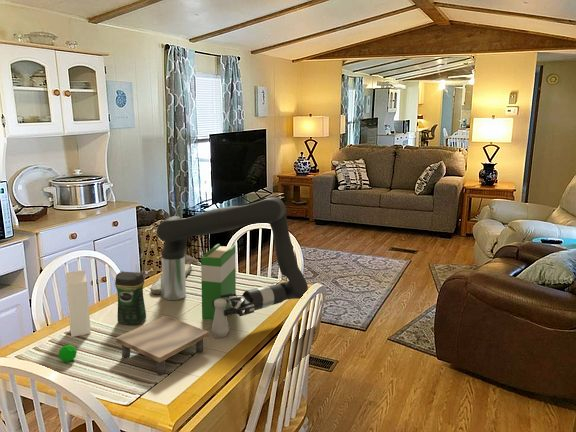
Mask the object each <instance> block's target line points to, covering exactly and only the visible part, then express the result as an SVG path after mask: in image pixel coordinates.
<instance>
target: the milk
mask: <svg viewBox="0 0 576 432" xmlns="http://www.w3.org/2000/svg"><path fill="white" fill-rule="evenodd" d="M87 280H88V279H87V275H86V270H85V269H81V270H76V271H75V270H74V271H67V272H65V285H66V297H67V308H68V309H67V311H68V318H69V320H68V321H69V330H70V331H69V332H70V334H71V338H74V337H78V336H79V337H80V336H83V335H90V334H91V333H92V332H91V320H90V306H89V305H90V304H89V294H88V293H89V291H88V281H87Z"/></svg>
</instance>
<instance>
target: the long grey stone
mask: <svg viewBox="0 0 576 432" xmlns="http://www.w3.org/2000/svg"><path fill="white" fill-rule="evenodd" d="M192 269H193V266H192V265H191V264H189V263H185V277H186V276H188V274H190V272H191V271H192ZM150 293H151V294H152V295H161V275H160V276H159V277H157V279H156V280H155V281H154V282H153V283H152V284H151V286H150Z"/></svg>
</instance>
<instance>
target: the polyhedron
mask: <svg viewBox="0 0 576 432" xmlns="http://www.w3.org/2000/svg"><path fill="white" fill-rule="evenodd" d="M76 356H77V349H76V347H75V346H74V345H71V344H66V345H63V346H62V347H60V348H59V351H58V358H59V359H60V361H62V362H64V363H68V362H72V361H73V360H74V359H75V358H76Z"/></svg>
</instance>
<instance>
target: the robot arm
mask: <svg viewBox="0 0 576 432" xmlns="http://www.w3.org/2000/svg"><path fill="white" fill-rule="evenodd" d="M265 223H267V224H269V226H270V228H271V230H272V234H273V242H274V249H275V250H274V251H275V257H276V261H277V264H278V268H279V272H280V273H281V275H282V276H284V277H286V278H287V279H288V280H287V281H283V282H279V283H277V284H272V285H268V286H267V285H266V286H261V287H256V288H252V289H251V288H250V289H248V290H245V291H243V294H242V295H237V292H236V293H231V294H226V295H221V298H222V299H225V300H226V302H228V303H227V305H228V306H229V307H232V308H229V309H225V310H224V316H227V317H229V316H232V315H236V316H237V315H238V316H239V317H244V316H246V315H251V314H253V313H255V311H257V310H258V311H259V310H262V309H266V308H268V307H271V306H274V305H279V304H281V303H283V302H284V301H286V300H299V299H300V298H301V297H302V296H303V294H304V293H305V292H306V291H307V290H308V291H309V286H308V282H307V280H306V278H305V277H304V275H303V272H302V271H301V269H300V267H299V265H298V262H297V258H296V254H295V251H294V248H293V247H294V246H293V244H292V241H291V236H290V231H289V226H288V219H287V210H286V205H285V203H284V201H283V200H282V199H281V198H280V197H279V198H278V197H268V198H265V199H262V200H259V201H256V202H252V203H249V204H246V205H245V204H244V205H231V206H230V205H229V206H222V207H218V208H214V209H213V208H212V209H209V210H207V211H204V212H200V213H198V214H195V215H192V216H189V217H185V218H182V217H180V216H178V215H173V216H172V215H171V216H169V217H167V218H165V219H163V220H162V221H161V222H160V223H159V224H158V225H157V227H156V236H157V237H158V238H159V239H160V241H162V242H164V244H163V247H162V249H161V251H160V253H161V273H160V276H161V294H160V295H161V297H162V298H163V299H165V300H167V301H176V300H182V299H184V298H186V296H187V294H186V293H187V290H186V289H187V288H186V284H187V283H186V276H185V264H186V248H187V239H188V238H189V237H194V236H204V235H211V234H217V233H218V234H219V233H223V232H228V231H232V230H235V229H238V228H241V227H244V226H247V225H253V224H265ZM301 299H302V298H301ZM214 301H215V300H214ZM214 301H212V307H214ZM230 301H232V304H231V303H230Z"/></svg>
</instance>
